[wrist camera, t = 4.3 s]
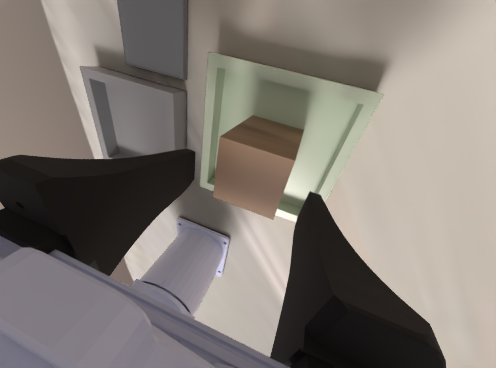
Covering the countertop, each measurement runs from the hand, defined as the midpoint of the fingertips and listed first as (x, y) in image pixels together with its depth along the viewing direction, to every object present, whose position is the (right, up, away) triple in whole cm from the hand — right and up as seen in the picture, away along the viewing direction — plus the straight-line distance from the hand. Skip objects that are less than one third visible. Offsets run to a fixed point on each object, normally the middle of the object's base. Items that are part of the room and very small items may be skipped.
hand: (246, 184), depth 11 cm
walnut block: (+2, +3, +6) cm, 7 cm away
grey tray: (-11, +6, +10) cm, 16 cm away
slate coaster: (-8, +13, +4) cm, 16 cm away
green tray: (+2, +4, +6) cm, 8 cm away
